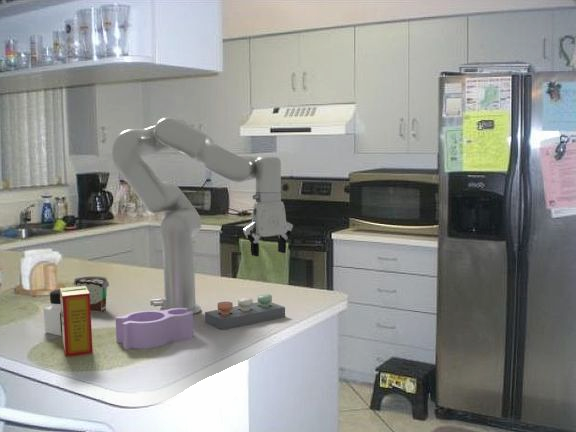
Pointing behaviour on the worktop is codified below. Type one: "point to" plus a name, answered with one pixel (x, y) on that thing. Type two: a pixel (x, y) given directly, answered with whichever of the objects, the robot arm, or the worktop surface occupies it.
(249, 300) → the ivory button
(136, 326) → the clip
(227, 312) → the terracotta button
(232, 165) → the robot arm
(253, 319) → the button panel
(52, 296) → the medicine bottle
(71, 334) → the baking soda box
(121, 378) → the worktop surface
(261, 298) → the sage button
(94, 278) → the food container
